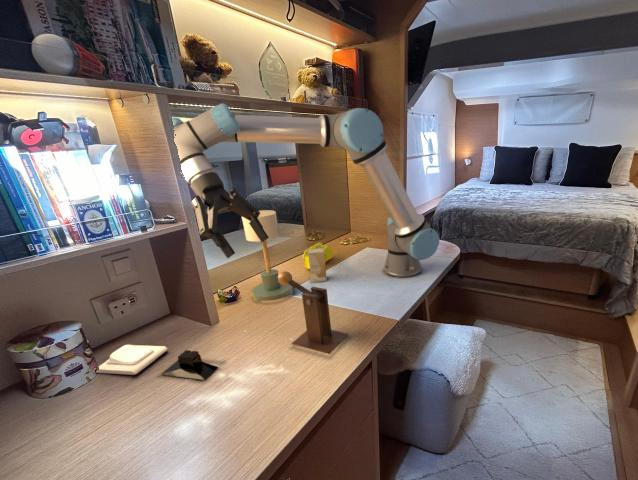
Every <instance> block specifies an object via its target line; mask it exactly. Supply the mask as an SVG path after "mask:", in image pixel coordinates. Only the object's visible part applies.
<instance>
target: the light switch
mask: <svg viewBox="0 0 638 480" xmlns="http://www.w3.org/2000/svg"><path fill="white" fill-rule="evenodd" d="M167 351H169V350H168V347H166V346H164V345H137V344H125V345H123V346H120V348H118V349H116V350H115V351H113V352H112V353H111V354H110V355H109V358H108V359H107V360H106V361H105V362H103V363H102V364H100V365H98V367H99V370H97V371H96V372H95V373H96V374H97V373H98V374H113V375H114V374H115V375H131V376H135V375H137V374H139V373H140V372H141V371H142V370H144V369H145V368H146V367H148V366H149V365H150V364H152V363H153V362H154V361H156V360H157V359H158V358H159V357H161V356H162V355H163V354H164V353H166V352H167Z"/></svg>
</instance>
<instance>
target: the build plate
mask: <svg viewBox="0 0 638 480" xmlns="http://www.w3.org/2000/svg"><path fill="white" fill-rule="evenodd" d="M201 356H202V355H201V354H200V353H199V351H198V350H188V349H185V350H184V351H183V352H181V353H180V354H179V355H178V356H177V360H176V361H175V362H174V363H173V364H171V365H170V366H169V367H168V368H166V369H165V370H164V371H163V372H162V373H161V376H162V377H163V376H164V377H171V378H180V379H185V380H186V379H187V380H194V381H196V382H204V381H207V380H208V378H209V377H211V376H212V374H214V372H215V371H216V370H217V369H218V368H219V366H217V365H213V364H210V363H207V362H205V361H203V360H202V359H203V358H202V357H201Z"/></svg>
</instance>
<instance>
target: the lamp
mask: <svg viewBox="0 0 638 480" xmlns="http://www.w3.org/2000/svg"><path fill="white" fill-rule="evenodd" d="M258 211H259V212H260V215H259V217H257V218H258V220H259V221H260V223H261V225H262V226H263V229H264V231H265V232H266V234H267V235H268V237H269V238H268V239H267V240H265V241H264V242H261V241H260V239H259V238H258V236H257V235H256V233H255V232H254V230H253V229H252V227H251V226H250V224H249V223H250V222H251V221H249V220H247V219H246V218H244V217H242V216H241V221H242V225H243V231H244V236H245V240H246V241H248V242H252V243H253V242H254V243H256V242H257V243H259V242H260V243H261V247H262V252H263V258H264V263H265V270H262V272H260V277H261V282H260V283H259V284H257V285H255V286H253V288H252V290H251V293H252V298H253V301H254V302H256V303H261V302H262V301H266V302H267V301H275V300H279V299H283V298H286V297H287V296H292V295H293V293H294V289H293V286H291V285H290V284H289V285H281V284H280V283H279V282H278V275H279V274H280V273H279V270H278V269H276V268H275V269H273V268H272V266H271V260H270V254H269V248H268V243H267V241H272V240H275V239H277V238H279V237H280V229H279V224H278V218H277V212H276V211H275V210H269V209H262V210H261V209H260V210H258ZM254 213H255V212H254ZM250 217H251V216H250Z"/></svg>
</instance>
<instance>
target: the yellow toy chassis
mask: <svg viewBox="0 0 638 480" xmlns="http://www.w3.org/2000/svg"><path fill="white" fill-rule="evenodd" d="M314 249H324V254H325V263H328V261H330V260H331V259H332V258H334V257H333V256H334V255H333V247H332V246H331V245H328V246H327V245H323V243H322V242H320V241H319V242H318V243H316V244H314V245H312V246H310V247H308V248H307V249H305V250H304V252H303V255H302V258H303V264H304V269H307V270H310V266H309V256H308V250H314Z"/></svg>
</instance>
